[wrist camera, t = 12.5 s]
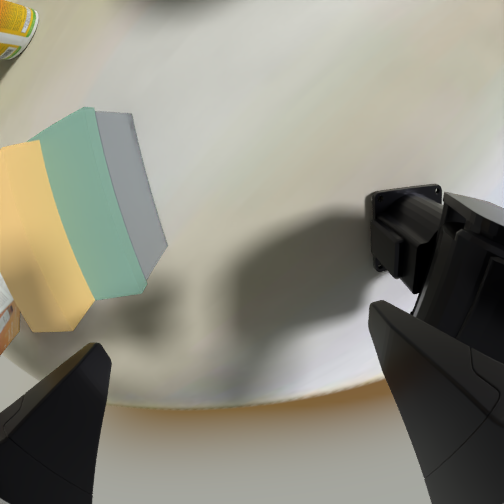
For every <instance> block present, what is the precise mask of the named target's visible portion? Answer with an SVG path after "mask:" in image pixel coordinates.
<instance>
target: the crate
mask: <svg viewBox="0 0 504 504" xmlns="http://www.w3.org/2000/svg"><path fill="white" fill-rule="evenodd" d="M95 116H96V121H97V126H98V131H99V135H100V140H101V144H102V148H103V152H104V156H105V160H106V164H107V168H108V172H109V175H110V179H111V182H112V186H113V189H114V193H115V196H116V199H117V202H118V206H119V209H120V212H121V215H122V218H123V221H124V224H125V227H126V230H127V233H128V235H129V238H130V241H131V244H132V247H133V249H134V252H135V255H136V257H137V260H138V262H139V265H140V267H141V270H142V272H143V275H144V277H145V280H147V279H148V277H149V275H150V274H151V272H152V270H153V269H154V267H155V265H156V264H157V262H158V261H159V259H160V257H161V256H162V254H163V253H164V251H165V249H166V248H167V246H168V245H167V242H166V239H165V235H164V232H163V229H162V226H161V223H160V220H159V216H158V213H157V210H156V207H155V203H154V200H153V196H152V193H151V189H150V186H149V182H148V179H147V175H146V171H145V167H144V163H143V160H142V156H141V152H140V148H139V143H138V139H137V135H136V131H135V126H134V122H133V117H132V114H129V113H117V112H103V111H95Z"/></svg>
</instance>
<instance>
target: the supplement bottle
mask: <svg viewBox="0 0 504 504" xmlns="http://www.w3.org/2000/svg"><path fill="white" fill-rule="evenodd" d="M37 25H38V13H37V12H36V11H35V10H33V9H31V8H28V7H25V6H22V5H19V4H15V3H12V2H8V1H5V0H0V59H12V58H14V57H16V56H17V55H19V54H20V53H21V52H22V51H23V50H24V49H25V48H26V46H27V45H28V43H29V42H30V40H31V39H32V37H33V35H34V33H35V30H36V28H37Z"/></svg>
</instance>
